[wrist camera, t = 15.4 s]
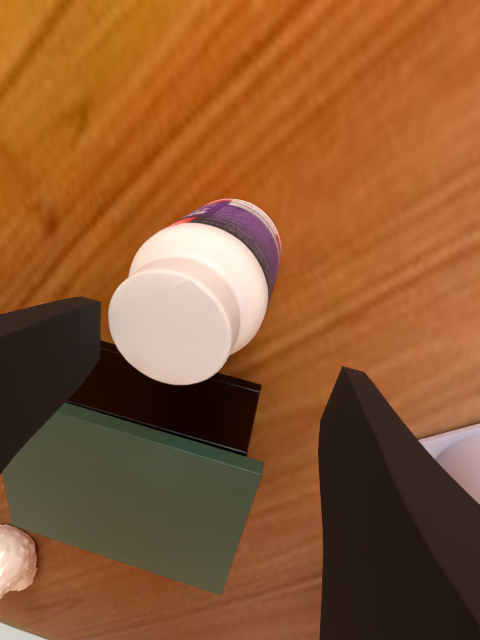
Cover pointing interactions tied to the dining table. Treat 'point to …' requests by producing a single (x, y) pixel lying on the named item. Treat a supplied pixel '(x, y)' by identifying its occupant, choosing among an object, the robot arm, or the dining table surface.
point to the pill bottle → (196, 292)
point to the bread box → (172, 402)
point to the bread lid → (134, 495)
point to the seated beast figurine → (16, 559)
